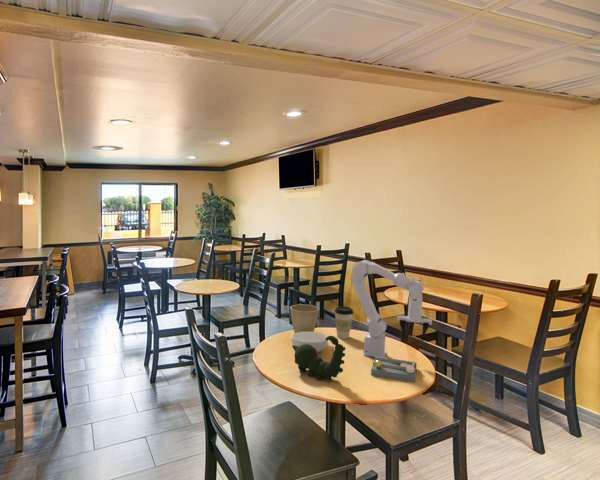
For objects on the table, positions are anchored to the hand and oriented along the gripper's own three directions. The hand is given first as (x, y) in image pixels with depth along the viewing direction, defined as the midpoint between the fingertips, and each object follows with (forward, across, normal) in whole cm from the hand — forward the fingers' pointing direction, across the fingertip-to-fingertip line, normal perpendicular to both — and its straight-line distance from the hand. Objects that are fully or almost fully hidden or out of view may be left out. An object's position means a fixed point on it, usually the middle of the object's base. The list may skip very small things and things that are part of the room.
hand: (413, 338), depth 174 cm
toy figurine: (+11, -36, -31) cm, 48 cm away
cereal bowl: (+11, -46, -6) cm, 48 cm away
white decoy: (+6, 0, -20) cm, 21 cm away
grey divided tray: (+10, -7, -15) cm, 19 cm away
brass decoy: (+6, -12, -20) cm, 24 cm away
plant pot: (+11, -54, +10) cm, 56 cm away
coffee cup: (+11, -36, +21) cm, 43 cm away
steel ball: (+8, -3, -14) cm, 16 cm away
